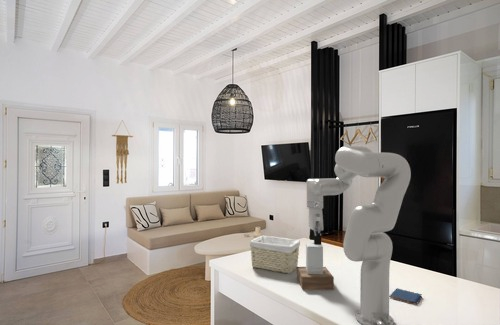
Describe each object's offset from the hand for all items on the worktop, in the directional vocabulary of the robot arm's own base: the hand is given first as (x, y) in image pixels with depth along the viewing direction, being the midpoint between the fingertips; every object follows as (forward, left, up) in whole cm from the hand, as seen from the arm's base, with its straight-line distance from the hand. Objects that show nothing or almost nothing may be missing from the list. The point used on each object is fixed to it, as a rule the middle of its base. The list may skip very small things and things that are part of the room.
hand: (315, 242), depth 143 cm
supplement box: (0, 0, -14) cm, 14 cm away
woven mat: (-14, -35, -20) cm, 43 cm away
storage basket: (+23, +17, -20) cm, 35 cm away
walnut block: (+1, 0, -20) cm, 20 cm away
